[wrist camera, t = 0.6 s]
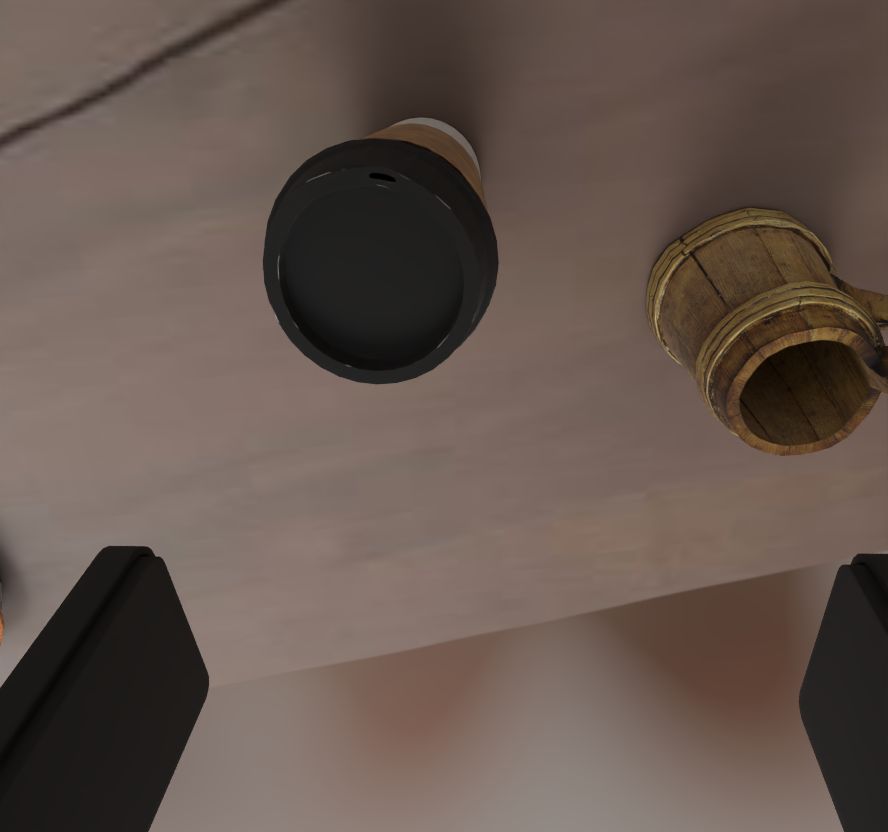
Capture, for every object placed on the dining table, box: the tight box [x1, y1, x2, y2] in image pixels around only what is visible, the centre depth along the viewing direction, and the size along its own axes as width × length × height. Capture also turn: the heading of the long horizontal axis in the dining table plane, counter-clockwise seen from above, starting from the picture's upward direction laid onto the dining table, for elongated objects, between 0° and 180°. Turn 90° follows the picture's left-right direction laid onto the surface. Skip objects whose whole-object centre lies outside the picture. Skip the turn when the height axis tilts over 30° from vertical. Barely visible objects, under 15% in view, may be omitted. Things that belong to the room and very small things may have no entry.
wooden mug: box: [646, 208, 888, 456], centre depth 29 cm, size 9×14×18 cm, turn 108°
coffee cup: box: [263, 117, 499, 384], centre depth 29 cm, size 8×8×15 cm
